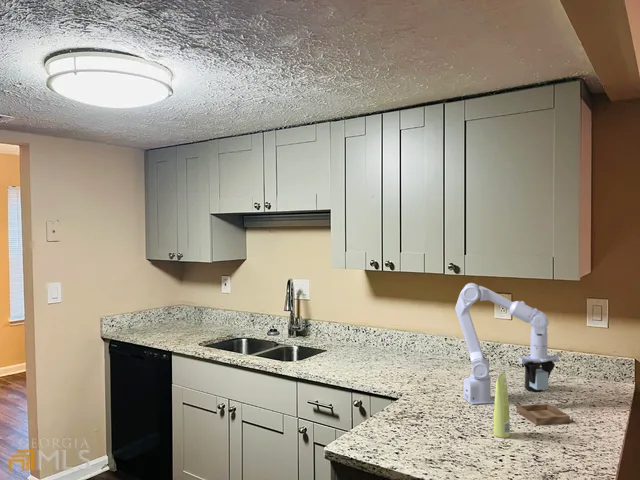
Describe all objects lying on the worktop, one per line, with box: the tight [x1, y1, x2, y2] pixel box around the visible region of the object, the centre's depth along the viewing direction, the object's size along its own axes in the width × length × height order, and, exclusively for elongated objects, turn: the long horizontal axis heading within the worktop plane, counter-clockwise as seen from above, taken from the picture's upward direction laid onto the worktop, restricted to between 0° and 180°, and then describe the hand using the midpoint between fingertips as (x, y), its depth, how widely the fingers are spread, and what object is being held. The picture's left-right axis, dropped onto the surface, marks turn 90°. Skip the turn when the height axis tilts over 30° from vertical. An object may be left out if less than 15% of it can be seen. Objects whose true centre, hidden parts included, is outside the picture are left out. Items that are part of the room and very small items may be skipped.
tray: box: [516, 402, 571, 426], centre depth 167 cm, size 12×12×2 cm
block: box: [530, 369, 549, 390], centre depth 177 cm, size 4×4×6 cm
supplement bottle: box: [524, 362, 544, 393], centre depth 196 cm, size 7×7×12 cm
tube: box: [493, 370, 511, 439], centre depth 153 cm, size 6×5×20 cm
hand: (538, 382), depth 177 cm, fingers closed on block, 4 cm apart
